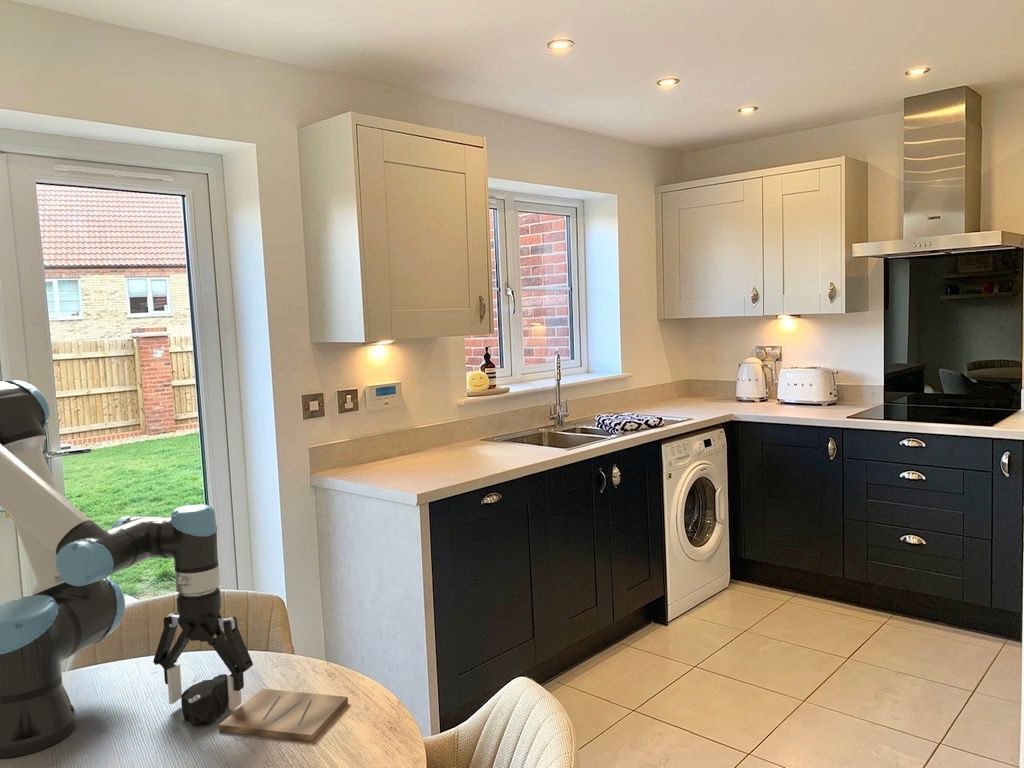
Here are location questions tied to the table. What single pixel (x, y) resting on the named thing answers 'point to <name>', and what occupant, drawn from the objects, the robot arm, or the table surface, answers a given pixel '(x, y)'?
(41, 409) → the robot arm
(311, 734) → the board
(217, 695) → the rock
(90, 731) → the table surface
